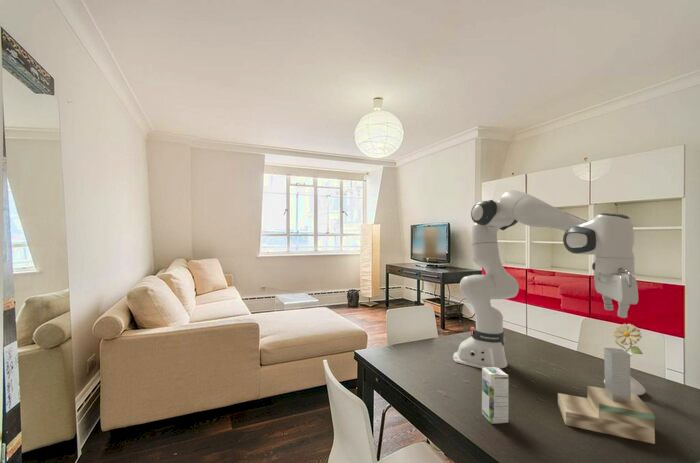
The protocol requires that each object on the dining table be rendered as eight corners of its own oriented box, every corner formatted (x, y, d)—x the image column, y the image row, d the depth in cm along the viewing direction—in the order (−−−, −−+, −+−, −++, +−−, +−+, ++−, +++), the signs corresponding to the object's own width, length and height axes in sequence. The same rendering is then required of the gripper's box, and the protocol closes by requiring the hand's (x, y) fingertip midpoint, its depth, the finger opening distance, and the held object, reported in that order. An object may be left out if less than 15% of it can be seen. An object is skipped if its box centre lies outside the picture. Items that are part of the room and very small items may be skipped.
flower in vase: (595, 383, 118) (594, 317, 118) (626, 383, 118) (625, 317, 118) (625, 401, 105) (623, 327, 105) (659, 401, 104) (658, 327, 105)
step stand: (566, 425, 91) (565, 398, 91) (557, 405, 102) (557, 380, 102) (655, 444, 83) (654, 414, 83) (636, 420, 94) (635, 393, 94)
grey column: (612, 401, 90) (611, 352, 90) (604, 393, 94) (604, 347, 94) (630, 403, 88) (630, 354, 89) (622, 395, 93) (621, 349, 93)
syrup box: (481, 413, 97) (480, 367, 98) (498, 412, 98) (498, 366, 98) (490, 424, 92) (490, 375, 92) (509, 423, 92) (509, 374, 93)
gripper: (645, 270, 81) (646, 323, 81) (613, 264, 100) (614, 307, 100) (616, 270, 84) (616, 321, 84) (589, 263, 103) (590, 305, 102)
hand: (615, 313), depth 92 cm, fingers open, 8 cm apart
